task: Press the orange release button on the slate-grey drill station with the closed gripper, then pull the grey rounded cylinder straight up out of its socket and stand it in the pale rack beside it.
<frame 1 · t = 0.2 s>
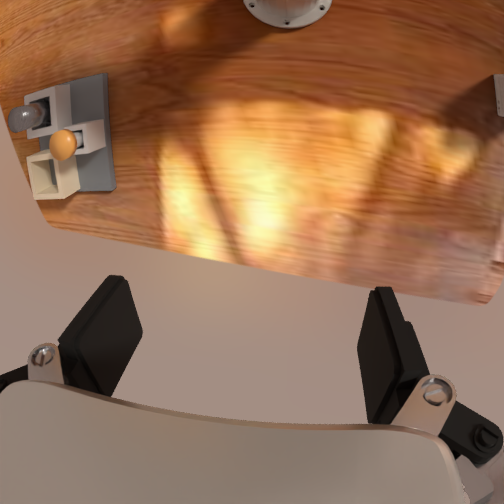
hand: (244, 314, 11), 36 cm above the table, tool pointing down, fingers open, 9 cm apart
drill station: (74, 136, 45), on the table
release button: (71, 141, 38), point 7 cm above the table, slide at 0.0 cm
grey rounded cylinder: (54, 110, 41), point 2 cm above the table, touching drill station
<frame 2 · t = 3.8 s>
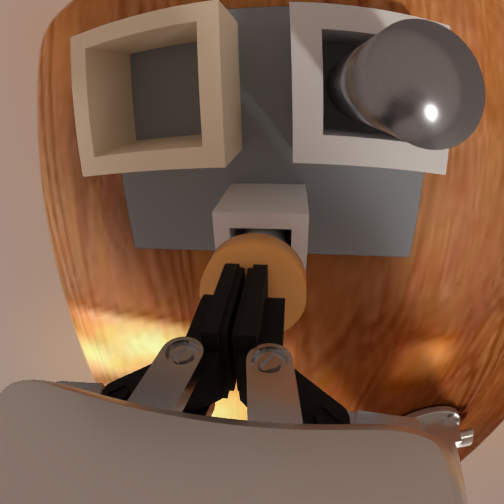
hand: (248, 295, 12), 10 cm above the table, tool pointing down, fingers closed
drill station: (268, 129, 19), on the table
release button: (259, 261, 15), point 7 cm above the table, slide at 0.5 cm, touching gripper
grey rounded cylinder: (360, 87, 15), point 2 cm above the table, touching drill station
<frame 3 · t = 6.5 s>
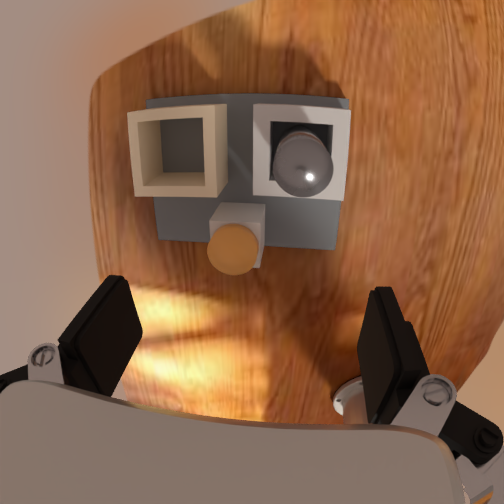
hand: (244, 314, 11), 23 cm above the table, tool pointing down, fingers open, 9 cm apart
drill station: (244, 169, 32), on the table
release button: (237, 238, 30), point 5 cm above the table, slide at 2.3 cm
grey rounded cylinder: (299, 145, 28), point 2 cm above the table, touching drill station
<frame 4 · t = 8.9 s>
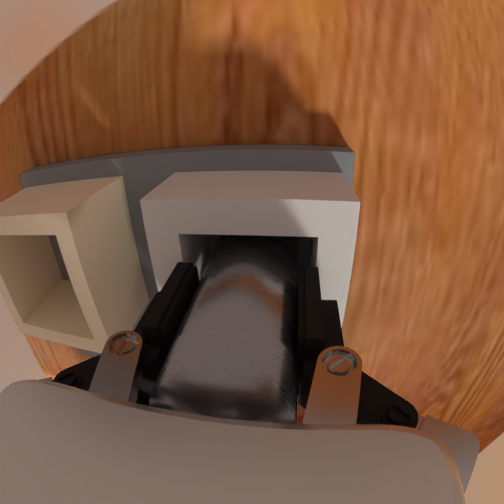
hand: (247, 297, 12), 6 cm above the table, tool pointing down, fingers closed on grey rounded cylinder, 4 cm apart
drill station: (175, 275, 19), on the table
grey rounded cylinder: (258, 246, 16), point 1 cm above the table, touching drill station, gripper
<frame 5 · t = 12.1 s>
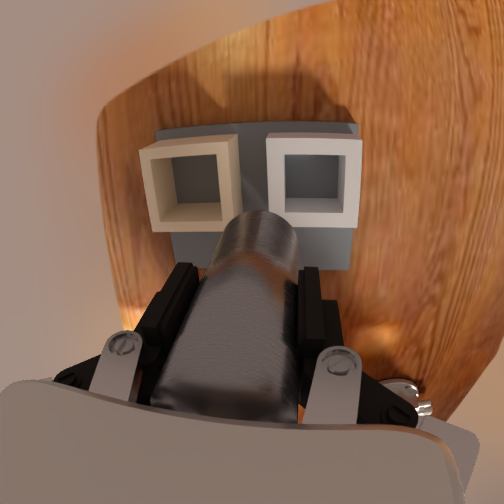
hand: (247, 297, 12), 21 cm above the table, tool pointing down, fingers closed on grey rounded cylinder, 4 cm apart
drill station: (258, 196, 33), on the table
grey rounded cylinder: (259, 246, 16), point 17 cm above the table, touching gripper
when the fingers open (8 cm above the table, at t = 15.4 s): grey rounded cylinder drops 2 cm, resting on drill station.
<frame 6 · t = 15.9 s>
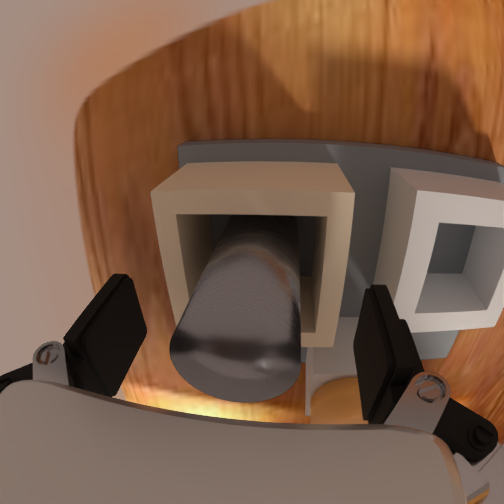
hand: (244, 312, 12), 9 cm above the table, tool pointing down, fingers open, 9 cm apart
drill station: (348, 264, 20), on the table
release button: (344, 380, 18), point 5 cm above the table, slide at 2.3 cm
grey rounded cylinder: (262, 231, 18), point 2 cm above the table, touching drill station
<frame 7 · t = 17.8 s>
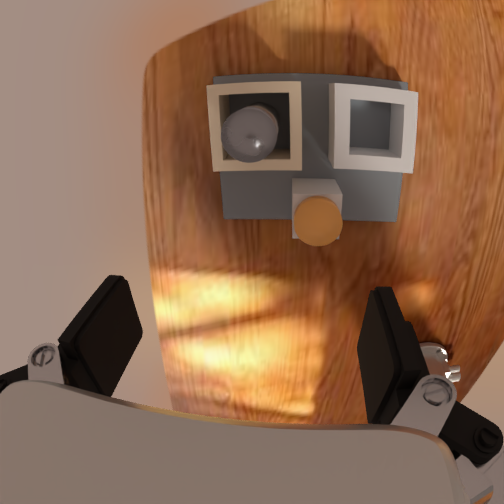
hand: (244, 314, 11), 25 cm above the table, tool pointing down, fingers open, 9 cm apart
drill station: (313, 146, 32), on the table
release button: (315, 211, 30), point 5 cm above the table, slide at 2.3 cm
grey rounded cylinder: (260, 121, 30), point 2 cm above the table, touching drill station
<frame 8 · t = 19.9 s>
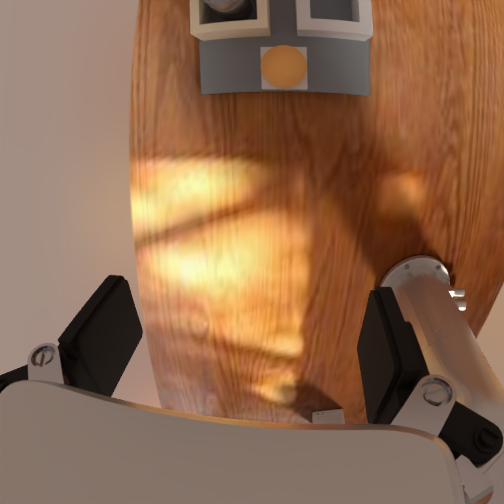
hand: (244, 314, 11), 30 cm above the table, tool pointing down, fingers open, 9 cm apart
drill station: (283, 30, 30), on the table
supplement box: (328, 416, 64), on the table
release button: (284, 68, 28), point 5 cm above the table, slide at 2.3 cm
grey rounded cylinder: (235, 8, 28), point 2 cm above the table, touching drill station
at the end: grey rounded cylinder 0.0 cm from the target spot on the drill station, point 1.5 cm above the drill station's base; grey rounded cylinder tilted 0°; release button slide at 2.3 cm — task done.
